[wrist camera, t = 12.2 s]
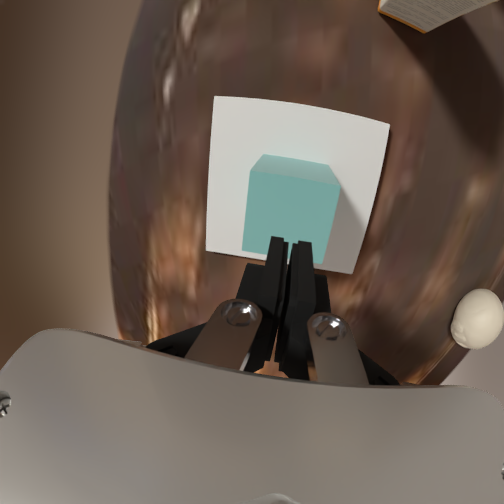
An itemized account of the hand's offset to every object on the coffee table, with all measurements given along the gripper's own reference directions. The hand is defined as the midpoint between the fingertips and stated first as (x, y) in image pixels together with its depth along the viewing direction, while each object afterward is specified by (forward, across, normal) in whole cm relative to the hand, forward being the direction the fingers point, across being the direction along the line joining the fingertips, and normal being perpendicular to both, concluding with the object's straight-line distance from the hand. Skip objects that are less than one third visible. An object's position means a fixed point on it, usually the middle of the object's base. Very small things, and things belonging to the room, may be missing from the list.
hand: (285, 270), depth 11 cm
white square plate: (+13, 0, 0) cm, 13 cm away
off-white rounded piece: (+13, -24, +9) cm, 29 cm away
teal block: (+12, 0, 0) cm, 12 cm away
